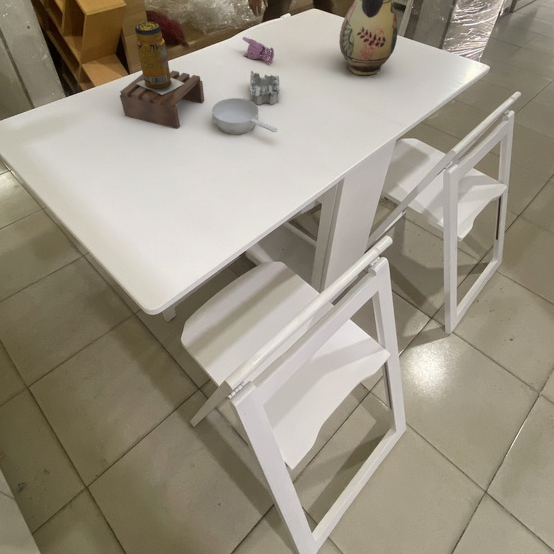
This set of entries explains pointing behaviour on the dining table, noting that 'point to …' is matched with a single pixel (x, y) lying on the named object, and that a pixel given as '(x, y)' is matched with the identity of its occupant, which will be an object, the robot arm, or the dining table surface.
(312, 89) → the dining table surface
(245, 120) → the saucepan
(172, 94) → the rack
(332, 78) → the dining table surface
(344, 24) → the ceramic jug
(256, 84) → the egg carton
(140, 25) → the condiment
